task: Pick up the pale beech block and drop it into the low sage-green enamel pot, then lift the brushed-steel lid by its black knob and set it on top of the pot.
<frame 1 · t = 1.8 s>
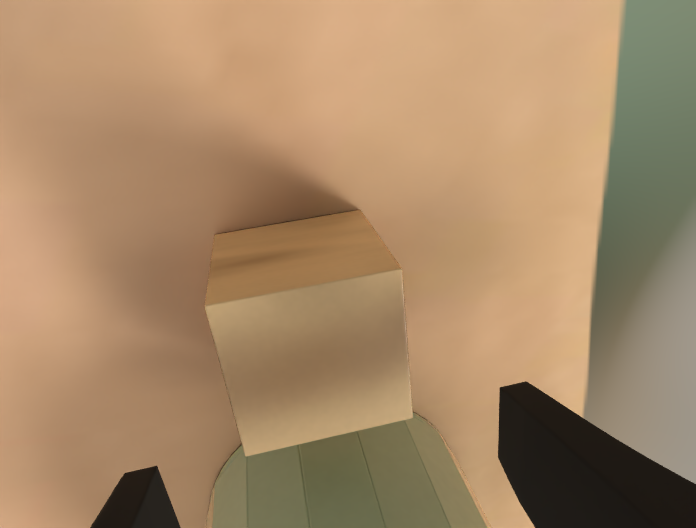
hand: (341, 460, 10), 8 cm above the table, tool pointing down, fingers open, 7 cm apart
block: (299, 286, 18), on the table
pot: (337, 499, 23), on the table
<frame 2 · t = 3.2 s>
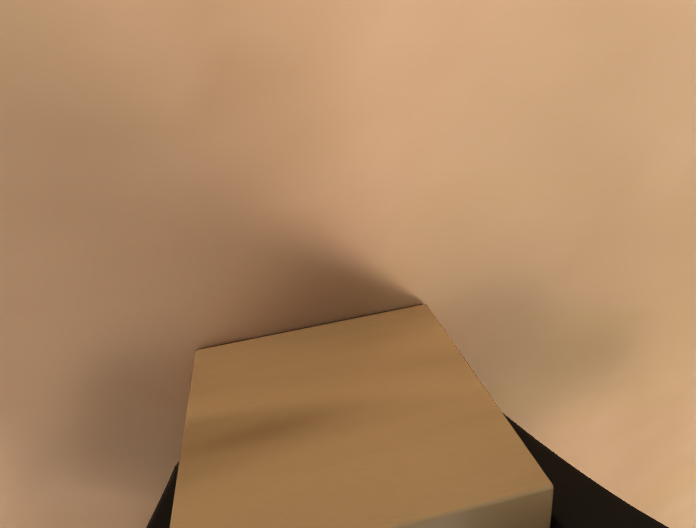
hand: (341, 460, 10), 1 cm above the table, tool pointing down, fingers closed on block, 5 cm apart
block: (329, 415, 12), on the table, touching gripper
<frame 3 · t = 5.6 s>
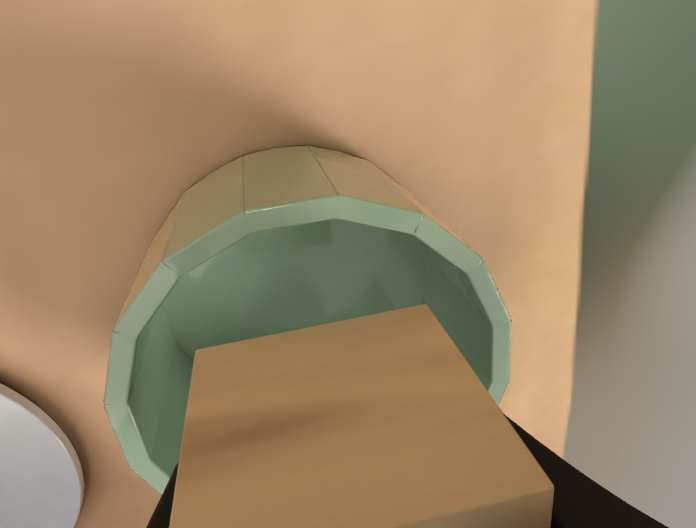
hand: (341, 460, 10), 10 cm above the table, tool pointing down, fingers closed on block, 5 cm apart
block: (329, 415, 12), point 8 cm above the table, touching gripper
pot: (299, 289, 20), on the table
when the fingers open (3 cm above the table, at t = 8.4 s): block stays where it is, resting on pot.
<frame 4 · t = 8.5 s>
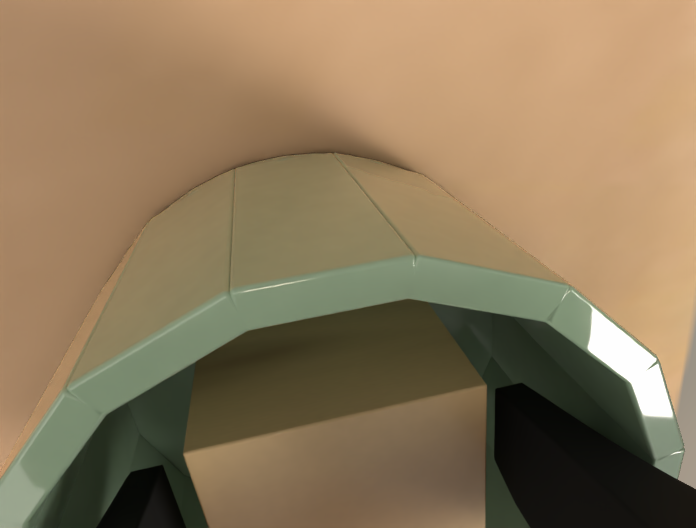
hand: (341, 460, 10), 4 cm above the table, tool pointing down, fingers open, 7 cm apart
block: (318, 362, 13), resting on pot
pot: (316, 354, 14), on the table
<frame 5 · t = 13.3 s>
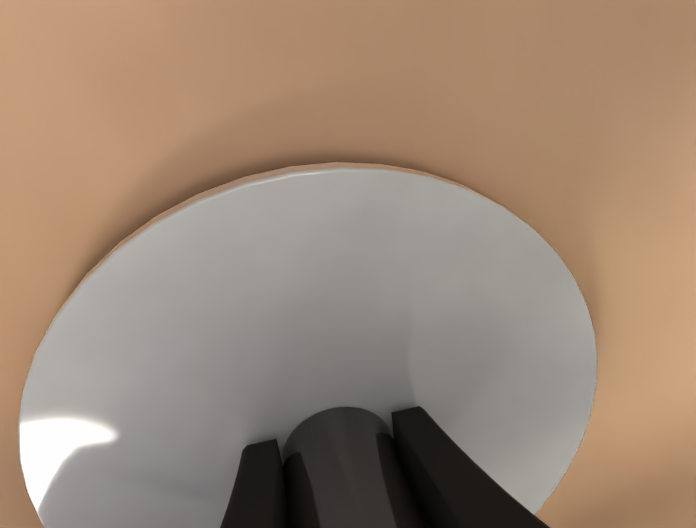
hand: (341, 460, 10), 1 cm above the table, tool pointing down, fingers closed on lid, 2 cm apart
lid: (334, 433, 11), point 1 cm above the table, touching gripper
when the fingers open (7 cm above the table, at t = 17.2 s): lid stays where it is, resting on pot.
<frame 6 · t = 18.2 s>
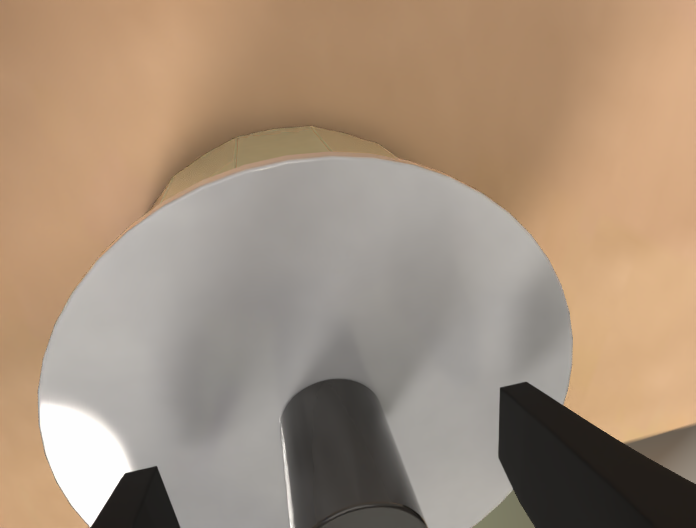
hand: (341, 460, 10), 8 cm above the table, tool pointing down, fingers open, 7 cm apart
lid: (328, 405, 12), point 6 cm above the table, touching pot
pot: (300, 287, 18), on the table
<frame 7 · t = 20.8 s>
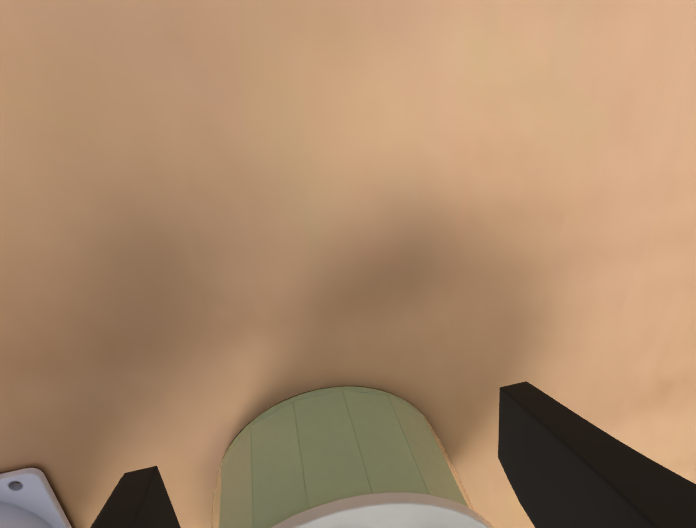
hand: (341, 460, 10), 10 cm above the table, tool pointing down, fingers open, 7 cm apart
pot: (332, 477, 25), on the table
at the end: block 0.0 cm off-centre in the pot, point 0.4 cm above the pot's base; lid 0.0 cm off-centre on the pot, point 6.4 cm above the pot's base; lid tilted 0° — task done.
